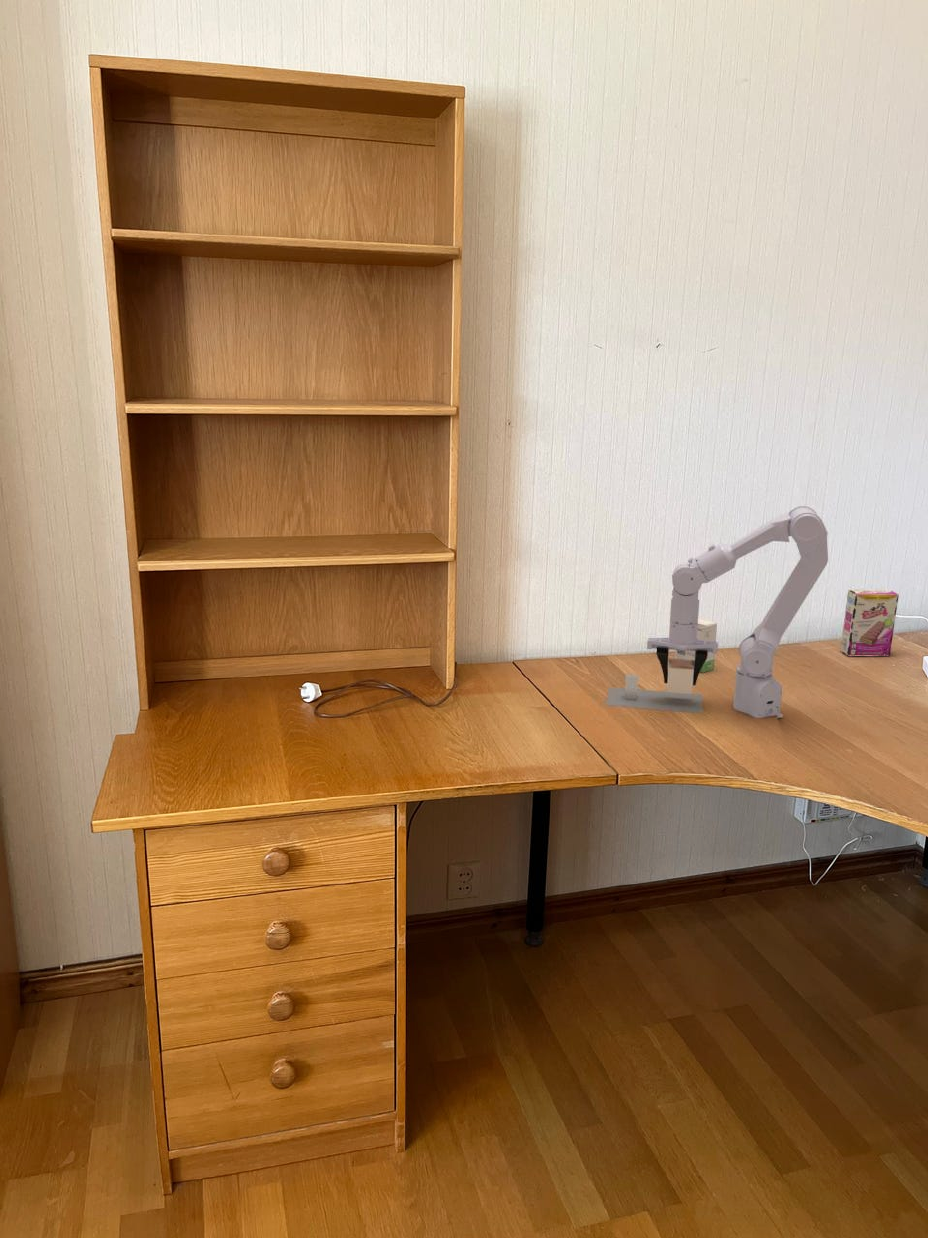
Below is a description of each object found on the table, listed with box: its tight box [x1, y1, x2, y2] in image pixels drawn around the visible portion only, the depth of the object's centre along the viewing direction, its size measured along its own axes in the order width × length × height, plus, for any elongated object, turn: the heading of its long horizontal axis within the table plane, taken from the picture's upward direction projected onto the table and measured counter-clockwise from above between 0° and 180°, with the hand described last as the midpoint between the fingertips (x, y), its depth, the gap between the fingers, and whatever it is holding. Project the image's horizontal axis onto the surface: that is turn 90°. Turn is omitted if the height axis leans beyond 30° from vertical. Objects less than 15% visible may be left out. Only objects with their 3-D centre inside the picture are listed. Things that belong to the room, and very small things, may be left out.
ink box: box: [674, 617, 718, 674], centre depth 232 cm, size 8×5×12 cm, turn 40°
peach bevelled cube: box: [666, 657, 694, 694], centre depth 205 cm, size 5×5×6 cm
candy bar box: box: [840, 589, 900, 656], centre depth 243 cm, size 11×5×16 cm, turn 94°
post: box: [624, 673, 639, 700], centre depth 208 cm, size 3×3×6 cm
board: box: [605, 686, 703, 714], centre depth 208 cm, size 20×12×1 cm, turn 77°
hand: (679, 682), depth 205 cm, fingers closed on peach bevelled cube, 5 cm apart
